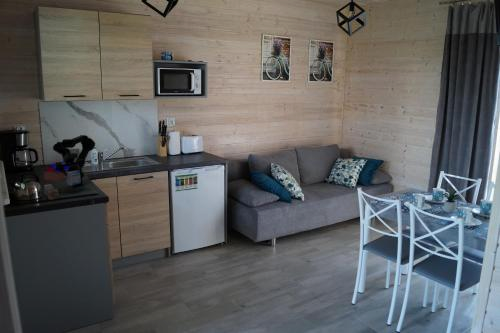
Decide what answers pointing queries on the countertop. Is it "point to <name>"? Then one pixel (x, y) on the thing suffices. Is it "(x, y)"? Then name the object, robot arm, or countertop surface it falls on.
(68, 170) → the robot arm
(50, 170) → the house
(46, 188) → the dark grey cylinder
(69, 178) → the medicine box
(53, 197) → the walnut block
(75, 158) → the candy bar box
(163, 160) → the countertop surface
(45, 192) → the terracotta block
